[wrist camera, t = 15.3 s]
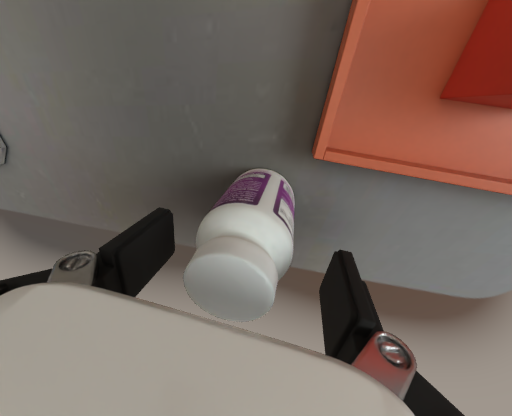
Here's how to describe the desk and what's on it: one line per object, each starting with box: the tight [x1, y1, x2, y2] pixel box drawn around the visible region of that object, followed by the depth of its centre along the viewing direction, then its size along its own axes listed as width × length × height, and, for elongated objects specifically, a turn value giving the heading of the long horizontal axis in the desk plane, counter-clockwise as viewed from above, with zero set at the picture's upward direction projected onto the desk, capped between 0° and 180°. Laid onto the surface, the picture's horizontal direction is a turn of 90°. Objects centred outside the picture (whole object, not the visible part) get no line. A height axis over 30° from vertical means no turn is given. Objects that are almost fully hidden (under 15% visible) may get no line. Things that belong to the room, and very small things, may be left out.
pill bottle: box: [183, 168, 295, 322], centre depth 13 cm, size 5×5×10 cm
